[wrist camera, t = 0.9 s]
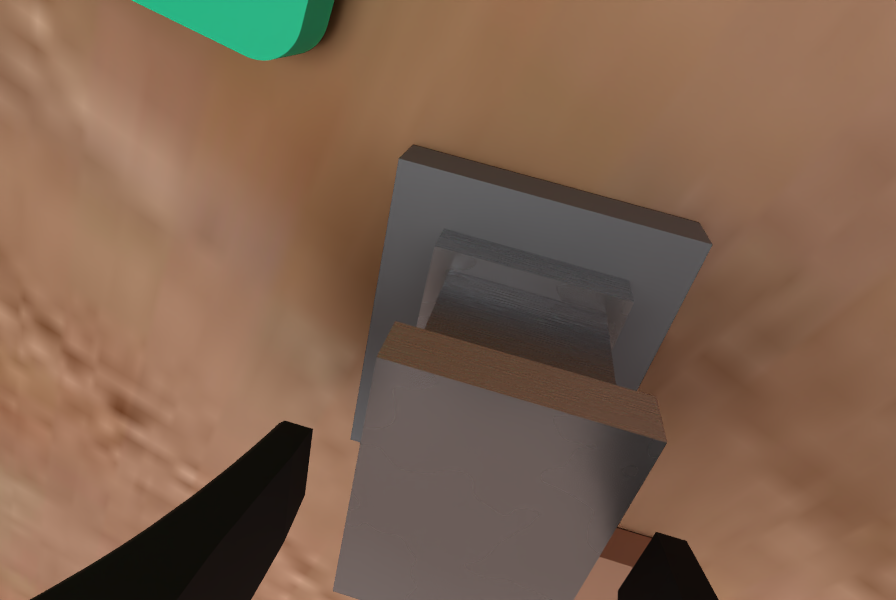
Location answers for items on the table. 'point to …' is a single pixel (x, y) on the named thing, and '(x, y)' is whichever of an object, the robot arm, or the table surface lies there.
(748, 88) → the table surface
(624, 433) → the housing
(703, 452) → the table surface
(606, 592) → the stand
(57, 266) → the table surface
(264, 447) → the robot arm
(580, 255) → the stand
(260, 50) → the camera mount
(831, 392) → the table surface
